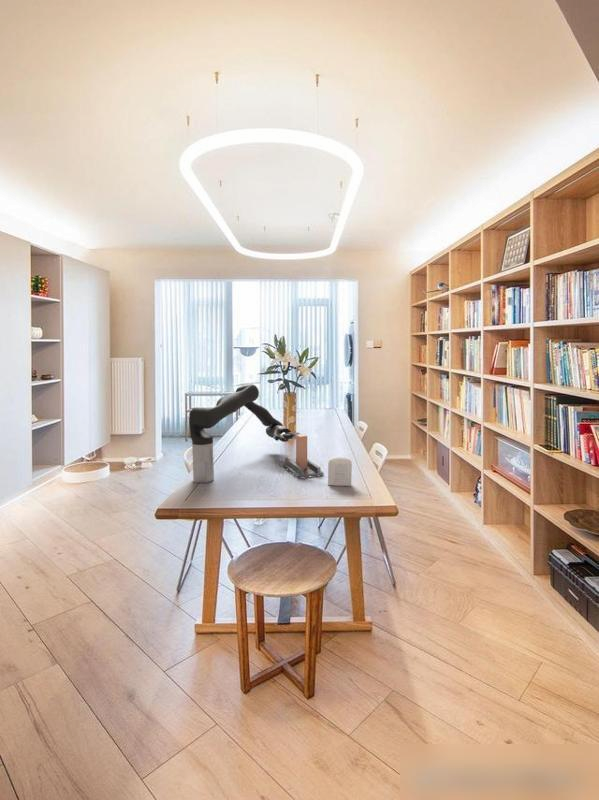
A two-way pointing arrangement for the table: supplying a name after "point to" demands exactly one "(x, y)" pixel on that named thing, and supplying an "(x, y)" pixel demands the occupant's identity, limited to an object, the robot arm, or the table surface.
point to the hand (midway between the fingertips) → (292, 439)
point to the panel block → (301, 450)
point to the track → (299, 472)
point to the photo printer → (339, 471)
